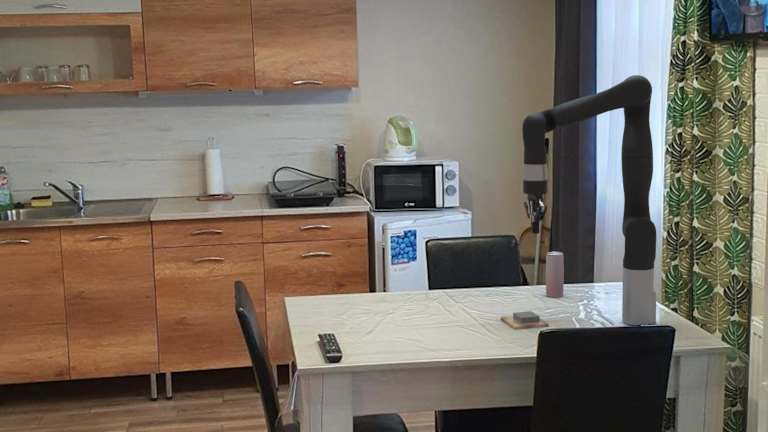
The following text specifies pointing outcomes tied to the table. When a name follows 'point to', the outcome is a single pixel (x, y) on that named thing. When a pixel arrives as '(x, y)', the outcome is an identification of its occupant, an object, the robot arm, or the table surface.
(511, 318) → the tan wavy tile
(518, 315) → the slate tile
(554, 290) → the beverage can
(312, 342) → the table surface
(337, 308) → the table surface
